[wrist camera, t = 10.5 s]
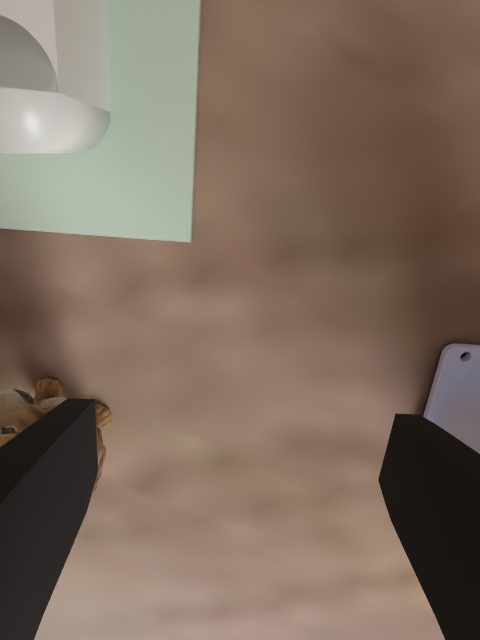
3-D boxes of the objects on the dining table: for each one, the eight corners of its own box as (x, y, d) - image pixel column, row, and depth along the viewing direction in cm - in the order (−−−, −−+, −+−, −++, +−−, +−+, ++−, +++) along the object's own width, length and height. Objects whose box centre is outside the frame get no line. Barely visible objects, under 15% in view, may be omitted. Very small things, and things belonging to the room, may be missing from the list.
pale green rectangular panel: (207, -144, 13) (206, -167, 12) (192, 237, 18) (190, 242, 17) (-94, -186, 12) (-119, -213, 12) (-31, 221, 17) (-46, 224, 16)
